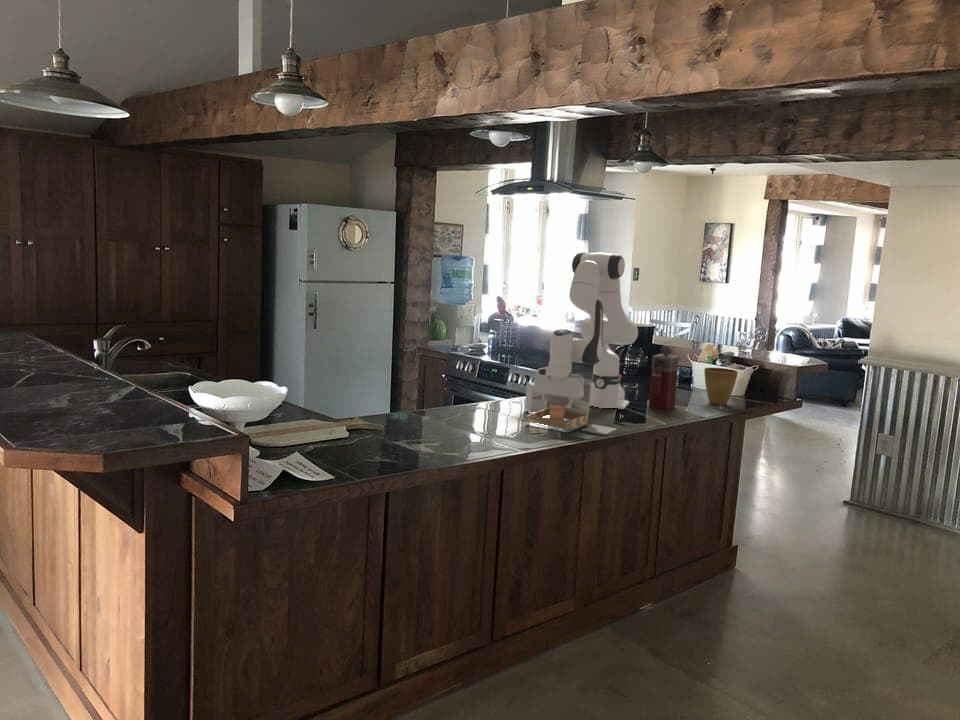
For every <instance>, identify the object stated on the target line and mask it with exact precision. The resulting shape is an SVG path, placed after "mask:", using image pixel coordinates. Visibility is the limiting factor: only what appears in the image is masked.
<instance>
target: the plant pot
mask: <svg viewBox="0 0 960 720" xmlns="http://www.w3.org/2000/svg"><path fill="white" fill-rule="evenodd" d="M738 374H739V371H738V370H735V369H731V368H725V367H724V368H723V367H705V368H704V382H705V388H706V394H707V398H708V401H709V404H710V403H711V405H714V404H716V405H715V406H726V405H727V404H728V402H729V400H730V398H731V396H732V393H733V391H734V388H735V384H736V381H737V378H738ZM725 404H726V405H725Z"/></svg>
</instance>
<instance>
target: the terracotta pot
mask: <svg viewBox="0 0 960 720" xmlns="http://www.w3.org/2000/svg"><path fill="white" fill-rule="evenodd" d="M550 408H551V410H550V419H553V420H559V421H564V417H565V409H566V405H564V404H550ZM564 422H565V421H564Z"/></svg>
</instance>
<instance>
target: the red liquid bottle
mask: <svg viewBox="0 0 960 720" xmlns="http://www.w3.org/2000/svg"><path fill="white" fill-rule="evenodd" d="M671 353H672V347H671V346H670V345H669V344H665V345H663V346H662V347H660V353H658V354H655V355H653V356H652V361H651V362H652V363H651V370H650V371H651V372H650V373H651V374H650V385H649V398H648V399H649V400H648V408H651V409H656V410H663V411H669V410H672V409H674V408H675V406H676V392H677V383H678V382H677V381H678V380H677V379H678V373H679V372H678V371H679V370H678V369H679V356H678V355H674V354H671Z"/></svg>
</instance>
